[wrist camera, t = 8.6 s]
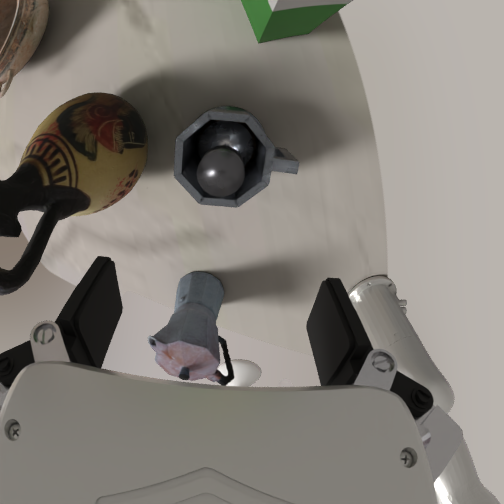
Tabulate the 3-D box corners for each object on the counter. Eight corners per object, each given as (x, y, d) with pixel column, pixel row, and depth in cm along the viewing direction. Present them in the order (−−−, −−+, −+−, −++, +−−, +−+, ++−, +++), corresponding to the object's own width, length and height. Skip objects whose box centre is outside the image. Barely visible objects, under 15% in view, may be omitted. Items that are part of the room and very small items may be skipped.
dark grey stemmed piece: (256, 123, 33) (269, 137, 20) (249, 174, 36) (257, 217, 24) (201, 118, 32) (180, 129, 20) (197, 169, 36) (176, 210, 23)
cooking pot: (-5, 21, 14) (-44, 21, 4) (64, -35, 13) (28, -51, 3) (3, 116, 28) (-41, 131, 17) (73, 64, 26) (25, 62, 16)
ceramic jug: (61, 124, 31) (-89, 196, 6) (139, 74, 30) (-31, 67, 4) (102, 210, 40) (-2, 347, 15) (181, 173, 38) (95, 325, 13)
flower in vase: (225, 381, 68) (226, 465, 47) (208, 359, 62) (205, 455, 41) (271, 373, 67) (282, 459, 45) (260, 349, 61) (271, 449, 40)
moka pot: (181, 251, 45) (156, 343, 29) (250, 294, 51) (258, 385, 34) (156, 285, 49) (129, 373, 32) (221, 321, 55) (219, 408, 38)
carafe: (287, 113, 35) (309, 120, 24) (275, 184, 40) (290, 217, 30) (192, 103, 33) (173, 105, 23) (186, 175, 39) (168, 206, 28)
